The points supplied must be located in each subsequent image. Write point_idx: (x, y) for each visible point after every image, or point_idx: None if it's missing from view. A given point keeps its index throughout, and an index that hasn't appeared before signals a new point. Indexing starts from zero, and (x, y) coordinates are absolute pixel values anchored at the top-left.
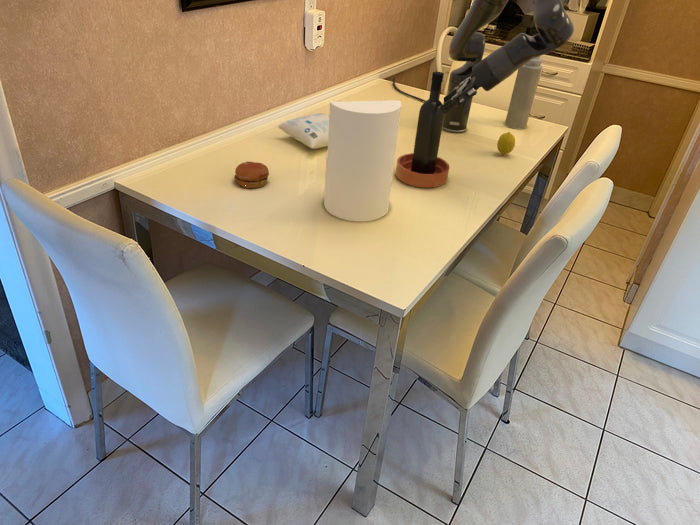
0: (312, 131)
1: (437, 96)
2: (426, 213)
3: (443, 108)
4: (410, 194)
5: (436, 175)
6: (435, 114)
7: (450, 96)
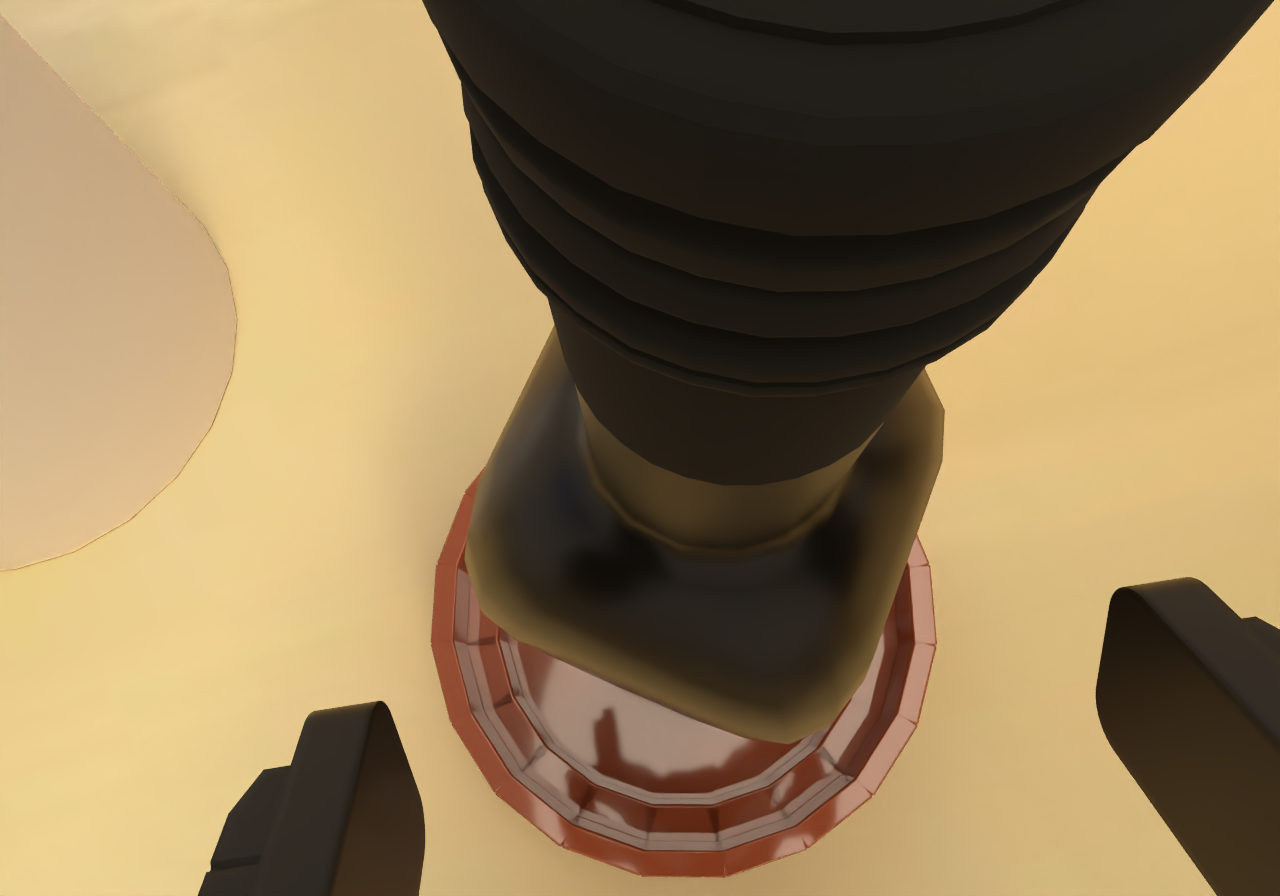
0: None
1: (628, 487)
2: (72, 850)
3: (241, 823)
4: (336, 635)
5: (500, 796)
6: (491, 614)
7: (1231, 773)
